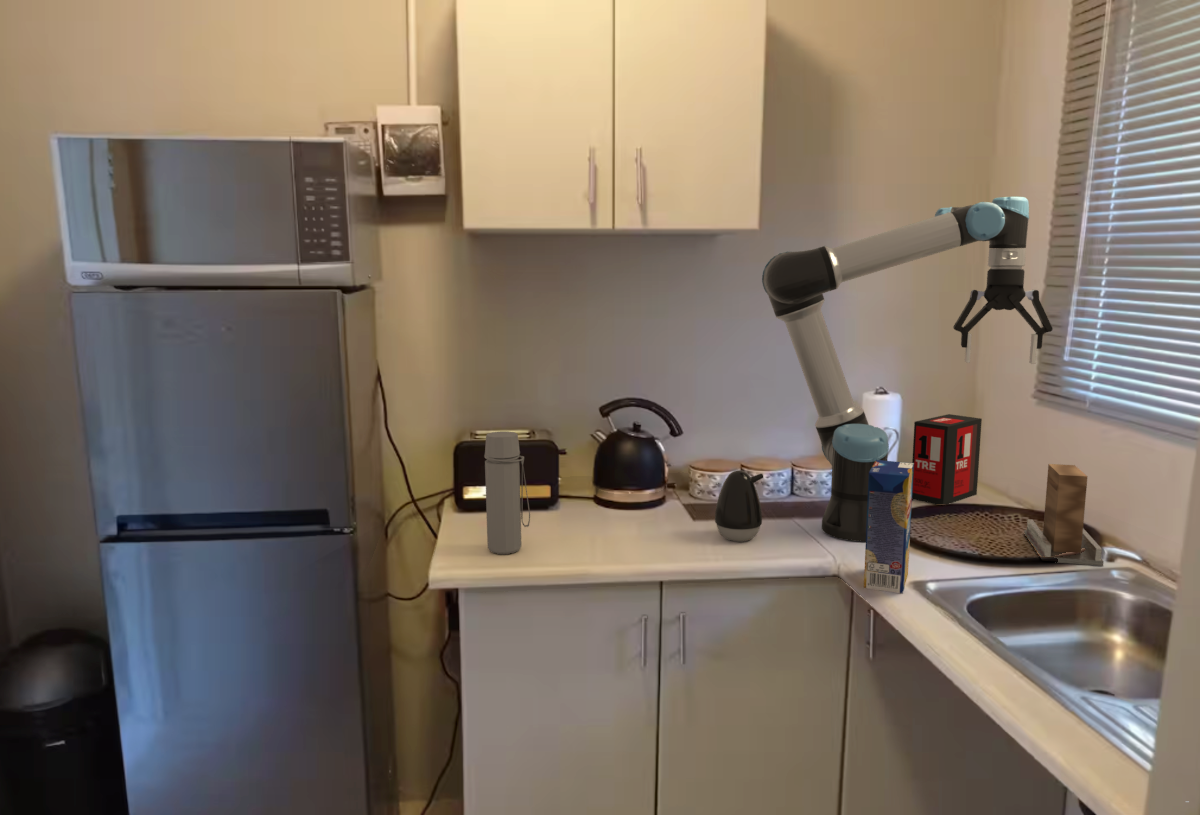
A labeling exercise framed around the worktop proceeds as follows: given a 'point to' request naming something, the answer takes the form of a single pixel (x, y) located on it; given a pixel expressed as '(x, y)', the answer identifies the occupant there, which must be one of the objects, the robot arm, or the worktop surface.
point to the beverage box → (888, 525)
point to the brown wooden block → (1065, 507)
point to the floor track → (1085, 558)
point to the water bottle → (503, 492)
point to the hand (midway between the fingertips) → (999, 362)
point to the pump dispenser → (739, 507)
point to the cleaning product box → (946, 458)
